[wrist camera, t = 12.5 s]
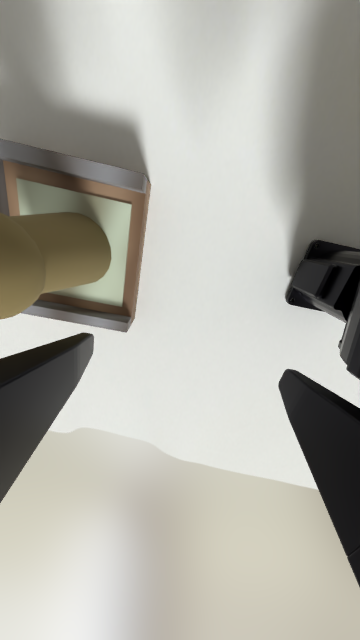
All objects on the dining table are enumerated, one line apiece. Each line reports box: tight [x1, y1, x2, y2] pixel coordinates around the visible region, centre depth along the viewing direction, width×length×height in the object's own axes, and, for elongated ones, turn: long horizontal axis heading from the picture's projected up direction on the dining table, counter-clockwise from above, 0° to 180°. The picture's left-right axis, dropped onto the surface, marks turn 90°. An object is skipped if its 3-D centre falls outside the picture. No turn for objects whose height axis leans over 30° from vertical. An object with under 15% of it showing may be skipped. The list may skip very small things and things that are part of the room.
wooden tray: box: [0, 139, 151, 332], centre depth 18 cm, size 12×13×4 cm
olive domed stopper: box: [0, 212, 111, 319], centre depth 12 cm, size 6×6×11 cm
